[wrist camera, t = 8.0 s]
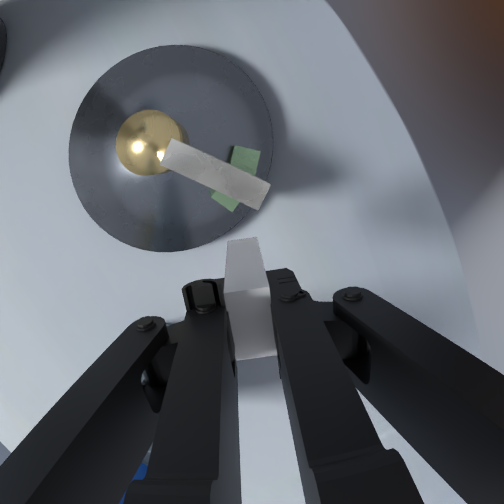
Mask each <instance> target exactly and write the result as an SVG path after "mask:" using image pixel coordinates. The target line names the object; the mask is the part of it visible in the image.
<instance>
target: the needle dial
mask: <svg viewBox="0 0 504 504" xmlns="http://www.w3.org/2000/svg"><path fill="white" fill-rule="evenodd" d="M116 152H117V156H118V158H119V160H120V162H121V163H122V165H123V166H124V167H125V168H126V169H127V170H129V171H130V172H132V173H134V174H137V175H141V176H150V175H157V174H164V173H168V172H171V171H175V172H177V173H179V174H181V175H184V176H186V177H188V178H190V179H192V180H195V181H197V182H199V183H201V184H203V185H205V186H207V187H210V188H212V189H214V190H216V191H218V192H220V193H222V194H224V195H226V196H229V197H231V198H233V199H235V200H237V201H239V202H241V203H243V204H245V205H247V206H249V207H252V208H254V209H256V210H259V208H260V206H261V204H262V202H263V200H264V198H265V196H266V194H267V192H268V190H269V188H270V186H271V184H269V183H268V182H267V181H265V180H263V179H261V178H259V177H257V176H255V175H253V174H251V173H249V172H247V171H244V170H242V169H240V168H238V167H236V166H234V165H232V164H230V163H228V162H226V161H223V160H221V159H219V158H217V157H215V156H213V155H210V154H208V153H206V152H204V151H202V150H199V149H197V148H195V147H193V146H191V145H189V137H188V134H187V131H186V130H185V128H184V127H183V126H182V125H181V124H180V123H179V122H177V121H176V120H174V119H173V118H171V117H169V116H168V115H166V114H165V113H163V112H160V111H157V110H143V111H139V112H137V113H135V114H133V115H132V116H130V117H129V118H128V119H127V120H126V121H125V122H124V123H123V124H122V126H121V128H120V129H119V132H118V134H117V138H116Z"/></svg>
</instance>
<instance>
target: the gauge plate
mask: <svg viewBox="0 0 504 504" xmlns="http://www.w3.org/2000/svg"><path fill="white" fill-rule="evenodd" d="M143 110H157V111H160V112H163V113H165V114H166V115H168V116H169V117H171V118H173V119H174V120H176V121H177V122H179V123H180V124H181V125H182V126H183V127H184V128H185V130H186V131H187V134H188V137H189V145H191V146H193V147H195V148H197V149H199V150H202V151H204V152H206V153H208V154H210V155H213V156H215V157H217V158H219V159H221V160H223V161H226V162H228V163H230V164H232V165H234V166H236V167H238V168H240V169H242V170H244V171H247V172H249V173H251V174H253V175H255V176H257V177H259V178H261V179H263V180H265V181H266V180H267V176H268V173H269V170H270V166H271V160H272V154H273V134H272V125H271V121H270V117H269V113H268V110H267V107H266V105H265V102H264V100H263V98H262V96H261V94H260V93H259V91H258V89H257V88H256V86H255V85H254V83H253V82H252V81H251V80H250V78H249V77H248V76H247V75H246V74H245V73H244V72H243V71H242V70H241V69H240V68H239V67H237V66H236V65H235V64H233V63H232V62H230V61H229V60H227V59H226V58H224V57H222V56H220V55H218V54H216V53H214V52H211V51H208V50H205V49H202V48H198V47H192V46H186V45H168V46H159V47H155V48H150V49H146V50H143V51H141V52H138V53H135V54H133V55H131V56H129V57H127V58H125V59H123V60H122V61H120V62H119V63H117V64H116V65H114V66H113V67H111V68H110V69H109V70H108V71H107V72H106V73H105V74H103V75H102V76H101V77H100V78H99V79H98V81H97V82H96V83H95V84H94V85H93V86H92V88H91V89H90V90H89V92H88V93H87V95H86V96H85V98H84V100H83V101H82V103H81V105H80V107H79V109H78V111H77V114H76V117H75V119H74V122H73V126H72V130H71V134H70V142H69V166H70V173H71V177H72V181H73V185H74V188H75V190H76V193H77V195H78V198H79V199H80V201H81V203H82V205H83V207H84V208H85V210H86V211H87V212H88V214H89V215H90V217H91V218H92V219H93V220H94V221H95V222H96V223H97V224H98V225H99V226H100V227H101V228H102V229H103V230H104V231H106V232H107V233H108V234H109V235H111V236H113V237H114V238H116V239H118V240H119V241H121V242H123V243H125V244H128V245H130V246H132V247H136V248H139V249H143V250H148V251H154V252H176V251H184V250H188V249H192V248H196V247H199V246H202V245H204V244H207V243H209V242H211V241H213V240H215V239H216V238H218V237H220V236H222V235H223V234H225V233H226V232H227V231H229V230H230V229H231V228H233V227H234V226H235V225H236V224H237V223H238V222H239V221H240V220H241V219H242V218H243V217H244V216H245V215H246V214H247V213H248V211H249V210H250V209H251V208H252V207H249V206H247V205H245V204H243V203H241V202H239V201H237V200H235V199H233V198H231V197H229V196H226V195H224V194H222V193H220V192H218V191H216V190H214V189H212V188H210V187H207V186H205V185H203V184H201V183H199V182H197V181H195V180H192V179H190V178H188V177H186V176H184V175H181V174H179V173H177V172H175V171H171V172H168V173H164V174H157V175H150V176H141V175H137V174H134V173H132V172H130V171H129V170H127V169H126V168H125V167H124V166H123V165H122V163H121V162H120V160H119V158H118V156H117V152H116V138H117V134H118V132H119V129H120V128H121V126H122V124H123V123H124V122H125V121H126V120H127V119H128V118H129V117H130V116H132V115H133V114H135V113H137V112H139V111H143Z"/></svg>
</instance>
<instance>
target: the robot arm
mask: <svg viewBox="0 0 504 504" xmlns="http://www.w3.org/2000/svg"><path fill="white" fill-rule="evenodd" d="M5 49H6V30H5V26H4V23H3V21H2V20H1V19H0V71H1V67H2V64H3V60H4V55H5ZM182 293H183V297H184V302H185V306H186V310H187V312H186V316H185V319H184V321H182V322H179V323H176V324H173V325H169V326H166V323H165V320H164V319H163V318H161V317H157V316H151V317H150V316H146V317H145V318H144V317H142V318H140V319H139V320H137V321H134V322H133V323H132V324H130V325H129V326H128V327H127V328H126V329H125V330H124V332H123V333H122V334H121V335H120V336H119V337H118V338H117V339H116V340H115V341H114V342H113V343H112V344H111V345H110V346H109V347H108V348H107V349H106V350H105V351H104V352H103V353H102V354H101V355H100V357H99V358H98V359H97V360H96V361H95V362H94V363H93V364H92V365H91V366H90V367H89V368H88V369H87V370H86V371H85V372H84V373H83V375H82V376H81V377H80V378H79V379H78V380H77V381H76V382H75V383H74V384H73V385H72V386H71V387H70V389H69V390H68V391H67V392H66V393H65V394H64V395H63V396H62V397H61V398H60V399H59V400H58V402H57V403H56V404H55V405H54V406H53V407H52V408H51V409H50V410H49V411H48V413H47V414H46V415H45V416H44V417H43V418H42V419H41V420H40V421H39V423H38V424H37V425H36V426H35V427H34V428H33V429H32V430H31V432H30V433H29V434H28V435H27V436H26V437H25V438H24V439H23V441H22V442H21V443H20V444H19V445H18V446H17V447H16V449H15V450H14V451H13V452H12V453H11V454H10V456H9V457H8V458H7V459H6V460H5V461H4V463H3V464H2V465H1V466H0V504H119V502H120V501H121V499H122V497H123V495H124V493H125V492H126V493H125V497H124V502H123V504H242V500H241V476H240V449H239V418H238V382H237V365H236V361H238V360H246V359H253V358H261V357H268V356H274V355H277V357H278V365H279V374H280V379H282V384H283V389H284V394H285V400H286V405H287V410H288V415H289V420H290V425H291V430H292V435H293V440H294V445H295V450H296V456H297V461H298V466H299V471H300V476H301V481H302V486H303V492H304V497H305V502H306V504H424V502H423V500H422V498H421V496H420V494H419V491H418V489H417V487H416V485H415V483H414V481H413V479H412V477H411V475H410V472H409V470H408V468H407V466H406V464H405V462H404V460H403V458H402V457H401V455H400V454H399V452H398V451H396V450H395V449H394V448H392V449H389V450H386V449H385V448H384V447H383V445H382V443H381V441H380V439H379V437H378V435H377V432H376V430H375V428H374V426H373V424H372V422H371V419H370V417H369V415H368V413H367V411H366V409H365V407H364V404H363V402H362V400H361V398H360V396H359V394H358V392H357V390H356V388H357V389H358V390H359V391H360V392H361V394H362V395H363V396H364V397H365V398H366V399H367V400H368V401H369V402H370V403H371V404H372V405H373V406H374V407H375V408H376V409H377V410H378V412H379V413H380V414H381V415H382V416H383V417H384V418H385V419H386V420H387V421H388V422H389V423H390V424H391V425H392V426H393V427H394V428H395V429H396V431H397V432H398V433H399V434H400V435H401V436H402V437H403V438H404V439H405V440H406V441H407V442H408V443H409V444H410V445H411V446H412V447H413V448H414V449H415V450H416V451H417V452H418V453H419V455H420V456H421V457H422V458H423V459H424V460H425V461H426V462H427V463H428V464H429V465H430V466H431V467H432V468H433V469H434V470H435V471H436V472H437V473H438V474H439V475H440V476H441V477H442V478H443V479H444V480H445V481H446V482H447V483H448V484H449V485H450V486H451V488H452V489H453V490H454V491H455V492H456V493H457V494H458V495H459V496H460V497H461V498H462V499H463V500H464V501H465V502H466V503H467V504H504V375H503V374H501V373H500V372H498V371H497V370H495V369H494V368H492V367H490V366H489V365H488V364H486V363H484V362H483V361H481V360H480V359H478V358H477V357H475V356H474V355H472V354H471V353H469V352H467V351H466V350H464V349H463V348H461V347H460V346H458V345H456V344H455V343H453V342H452V341H450V340H449V339H447V338H445V337H444V336H442V335H441V334H439V333H437V332H436V331H434V330H433V329H431V328H429V327H428V326H426V325H425V324H423V323H421V322H420V321H418V320H417V319H415V318H413V317H412V316H410V315H408V314H407V313H405V312H404V311H402V310H400V309H399V308H397V307H395V306H394V305H392V304H391V303H389V302H387V301H386V300H384V299H382V298H381V297H379V296H377V295H376V294H374V293H372V292H371V291H369V290H367V289H364V288H358V287H347V288H344V289H341V290H339V291H337V292H335V293H334V295H333V302H318V301H313V300H312V298H311V296H310V294H309V293H308V292H307V291H305V290H302V289H301V287H300V285H299V283H298V281H297V279H296V277H295V275H294V273H293V271H291V270H289V269H287V268H284V269H277V270H270V271H265V268H264V264H263V260H262V256H261V252H260V248H259V244H258V240H257V237H253V238H246V239H239V240H232V241H228V244H227V256H226V268H225V278H220V279H201V280H197V281H193V282H191V283H188V284H187V285H185V286H184V287H183V288H182ZM235 356H236V360H235ZM142 374H143V376H144V378H145V379H144V380H143V382H142V383H141V378H142ZM355 387H356V388H355ZM152 443H153V445H152ZM151 445H152V449H151V454H150V458H149V462H148V467H147V472H146V475H145V477H144V478H143V479H142V480H133V481H132V479H133V477H134V475H135V474H136V472H137V470H138V468H139V466H140V465H141V463H142V461H143V459H144V457H145V456H146V454H147V452H148V450H149V448H150V447H151ZM131 481H132V482H131Z"/></svg>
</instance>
